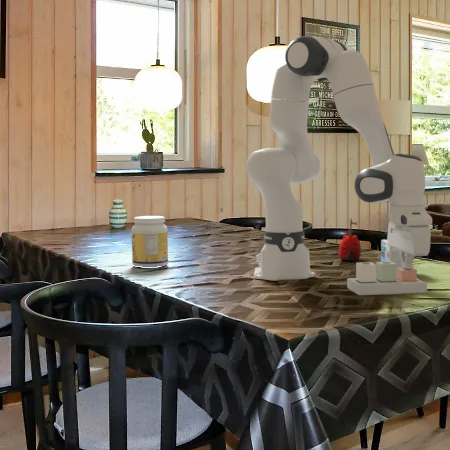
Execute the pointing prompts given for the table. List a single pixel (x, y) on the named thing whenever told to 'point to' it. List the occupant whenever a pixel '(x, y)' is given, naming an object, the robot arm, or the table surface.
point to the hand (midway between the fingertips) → (406, 268)
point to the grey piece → (386, 287)
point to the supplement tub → (149, 241)
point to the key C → (406, 274)
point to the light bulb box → (390, 254)
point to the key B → (386, 271)
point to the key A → (366, 272)
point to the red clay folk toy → (350, 247)
